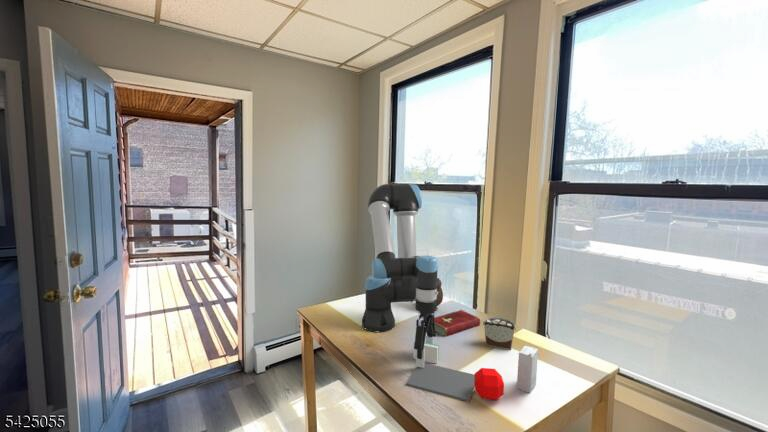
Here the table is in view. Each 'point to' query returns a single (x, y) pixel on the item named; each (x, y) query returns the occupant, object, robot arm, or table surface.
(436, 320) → the hardcover book
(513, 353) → the table surface
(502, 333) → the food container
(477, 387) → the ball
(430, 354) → the tile
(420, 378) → the mat
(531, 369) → the skincare box
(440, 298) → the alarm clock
